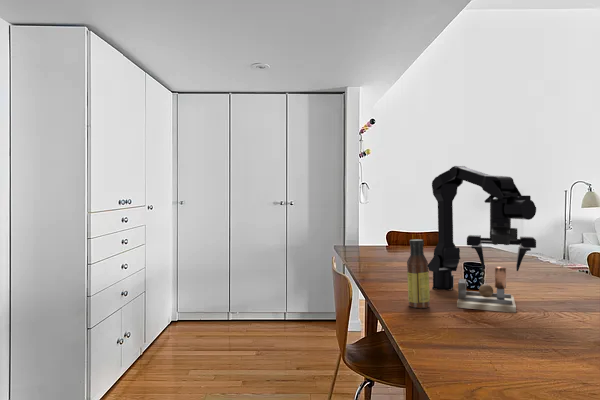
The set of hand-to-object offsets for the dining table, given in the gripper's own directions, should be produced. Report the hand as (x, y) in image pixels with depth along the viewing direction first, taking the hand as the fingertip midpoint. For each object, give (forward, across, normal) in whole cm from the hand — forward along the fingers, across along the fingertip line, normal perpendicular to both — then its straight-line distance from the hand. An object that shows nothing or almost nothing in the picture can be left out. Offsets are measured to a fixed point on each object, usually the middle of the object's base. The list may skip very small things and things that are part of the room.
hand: (500, 270), depth 134 cm
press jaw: (+9, 0, 0) cm, 9 cm away
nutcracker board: (+10, -4, 0) cm, 11 cm away
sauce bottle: (+11, -22, -11) cm, 27 cm away
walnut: (+8, -4, 0) cm, 9 cm away
